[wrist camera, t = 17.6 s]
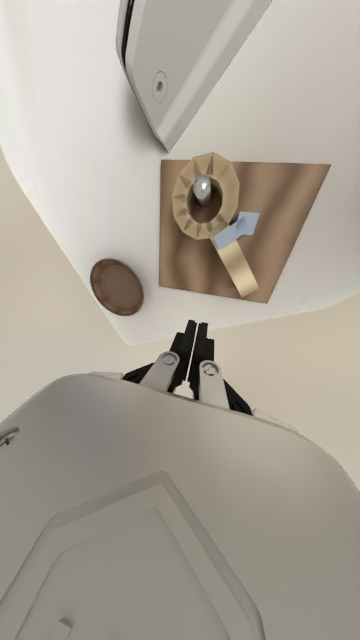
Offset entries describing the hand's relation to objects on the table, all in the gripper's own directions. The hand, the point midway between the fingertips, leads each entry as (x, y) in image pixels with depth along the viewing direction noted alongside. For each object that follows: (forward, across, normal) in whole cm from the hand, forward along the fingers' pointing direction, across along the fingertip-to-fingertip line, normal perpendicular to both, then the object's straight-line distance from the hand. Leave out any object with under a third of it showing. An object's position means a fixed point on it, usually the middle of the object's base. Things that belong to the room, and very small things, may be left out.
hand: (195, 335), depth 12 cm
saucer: (+23, +22, +6) cm, 32 cm away
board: (+22, -1, -7) cm, 23 cm away
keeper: (+22, -2, -8) cm, 24 cm away
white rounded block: (+22, +7, -27) cm, 36 cm away
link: (+21, -1, -8) cm, 22 cm away
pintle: (+22, +3, -13) cm, 26 cm away
